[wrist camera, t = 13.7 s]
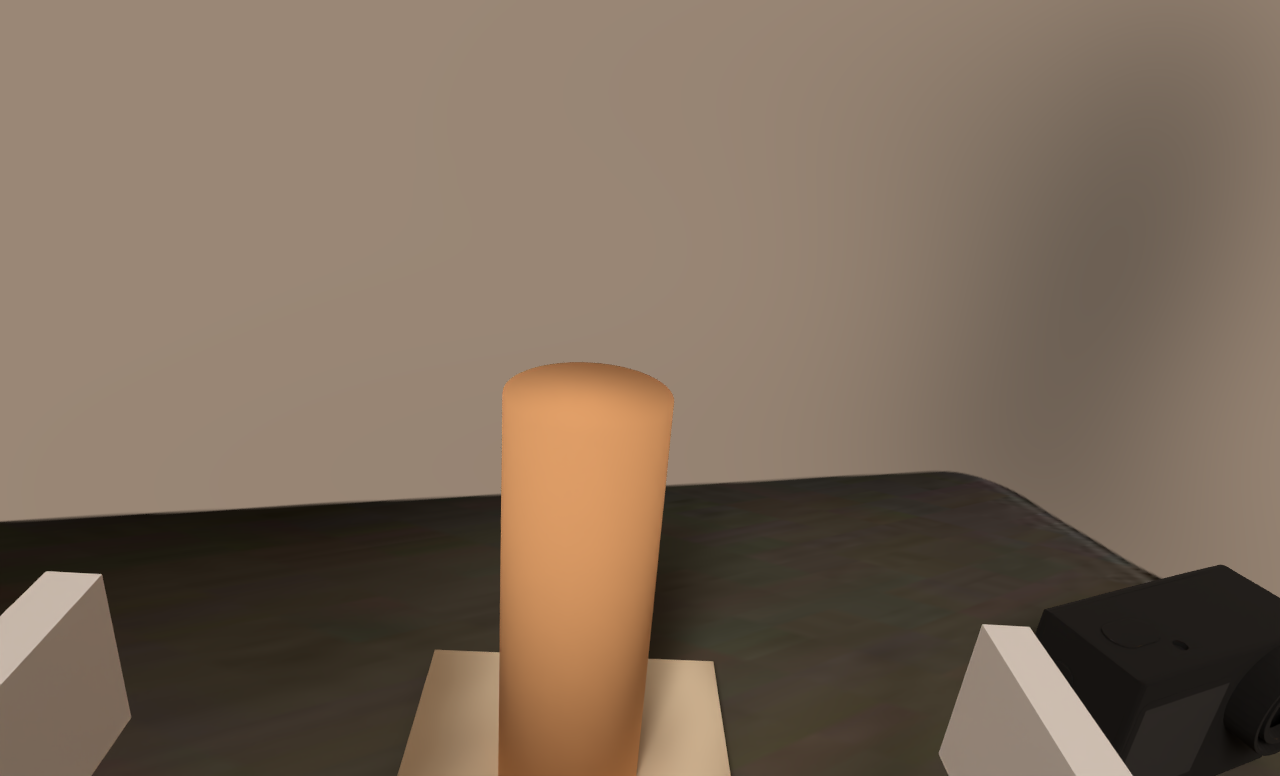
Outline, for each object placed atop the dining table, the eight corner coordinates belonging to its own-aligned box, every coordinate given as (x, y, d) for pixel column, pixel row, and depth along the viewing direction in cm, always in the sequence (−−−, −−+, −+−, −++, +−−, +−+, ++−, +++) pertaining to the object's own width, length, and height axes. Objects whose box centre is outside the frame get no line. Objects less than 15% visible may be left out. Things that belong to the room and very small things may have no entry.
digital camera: (1110, 858, 29) (1176, 709, 26) (997, 744, 34) (1043, 606, 31) (1292, 781, 33) (1365, 643, 30) (1168, 687, 38) (1222, 560, 35)
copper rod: (489, 829, 27) (491, 425, 22) (507, 715, 32) (512, 357, 26) (637, 833, 28) (680, 436, 22) (634, 720, 32) (668, 367, 26)
